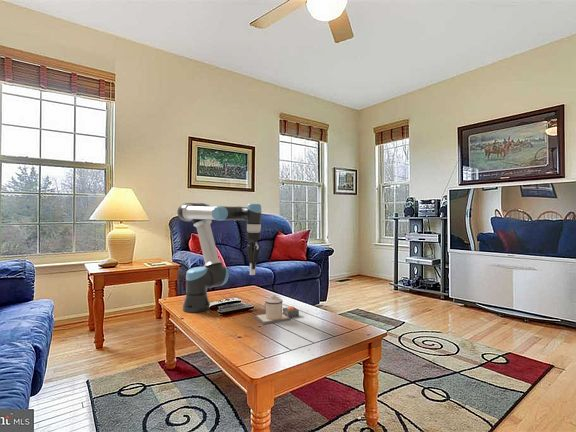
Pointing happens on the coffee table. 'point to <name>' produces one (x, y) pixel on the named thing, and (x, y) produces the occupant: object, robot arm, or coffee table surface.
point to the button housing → (291, 312)
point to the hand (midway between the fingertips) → (252, 274)
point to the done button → (290, 308)
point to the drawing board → (264, 320)
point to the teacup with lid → (273, 308)
